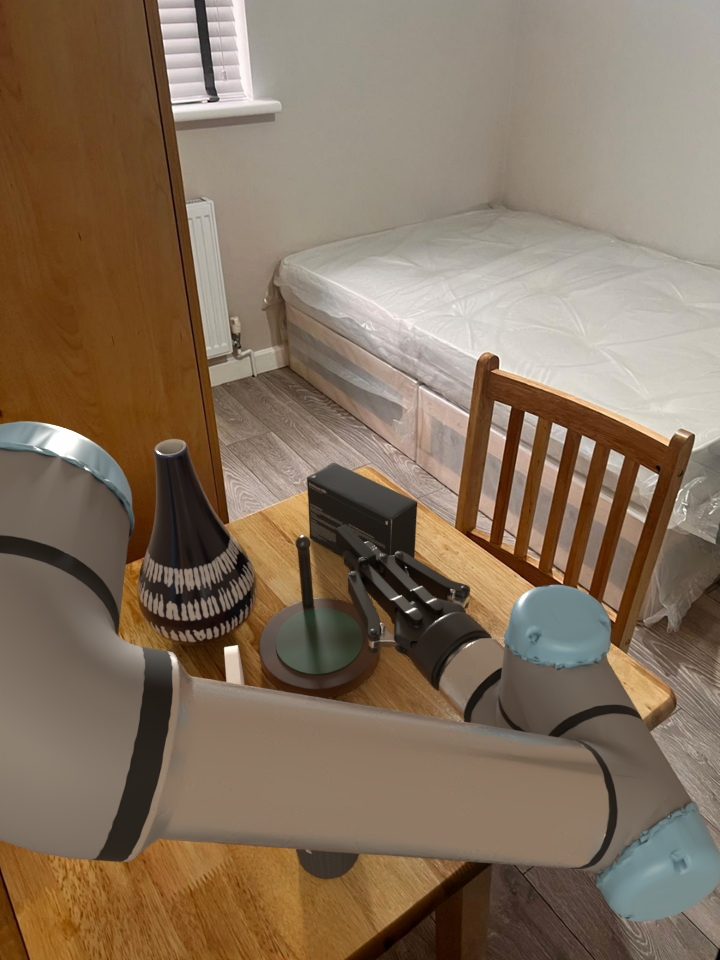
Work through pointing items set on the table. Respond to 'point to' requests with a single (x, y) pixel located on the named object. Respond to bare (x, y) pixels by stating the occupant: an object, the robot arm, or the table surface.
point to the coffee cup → (326, 862)
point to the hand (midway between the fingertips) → (341, 535)
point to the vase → (192, 560)
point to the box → (359, 511)
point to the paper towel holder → (316, 642)
